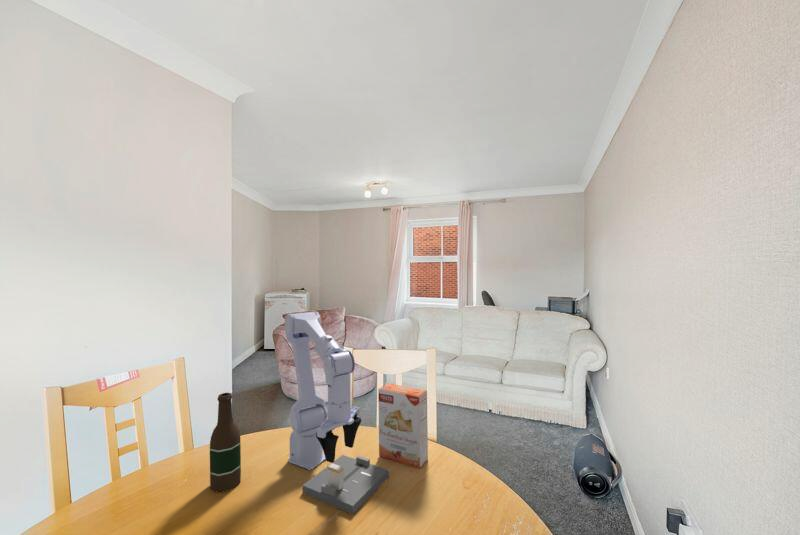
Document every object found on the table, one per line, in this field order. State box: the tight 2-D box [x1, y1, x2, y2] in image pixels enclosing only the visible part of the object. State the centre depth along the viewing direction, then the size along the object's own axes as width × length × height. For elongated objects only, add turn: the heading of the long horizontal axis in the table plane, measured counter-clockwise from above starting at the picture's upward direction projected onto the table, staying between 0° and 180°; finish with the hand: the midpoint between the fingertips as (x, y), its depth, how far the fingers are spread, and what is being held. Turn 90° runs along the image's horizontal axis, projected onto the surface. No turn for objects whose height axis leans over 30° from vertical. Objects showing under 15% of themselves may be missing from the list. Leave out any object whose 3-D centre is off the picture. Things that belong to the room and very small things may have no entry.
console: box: [302, 454, 390, 515], centre depth 90 cm, size 16×16×4 cm
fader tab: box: [327, 463, 344, 490], centre depth 86 cm, size 4×2×5 cm, turn 61°
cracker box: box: [377, 383, 429, 469], centre depth 102 cm, size 14×6×21 cm, turn 61°
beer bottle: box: [209, 392, 242, 493], centre depth 91 cm, size 8×8×24 cm
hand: (339, 453), depth 87 cm, fingers open, 7 cm apart
